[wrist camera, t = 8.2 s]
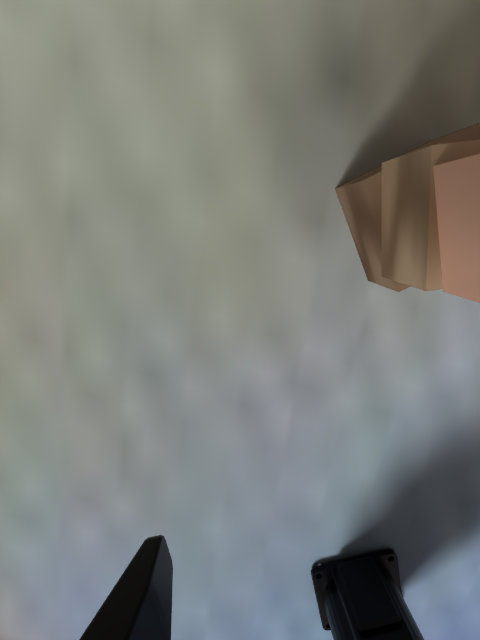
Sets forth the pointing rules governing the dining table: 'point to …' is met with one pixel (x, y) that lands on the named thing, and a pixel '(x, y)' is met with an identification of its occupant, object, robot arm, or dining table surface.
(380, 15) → the dining table surface
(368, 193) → the tower base
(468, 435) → the dining table surface
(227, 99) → the dining table surface
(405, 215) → the tower mid
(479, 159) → the cube
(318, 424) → the dining table surface
